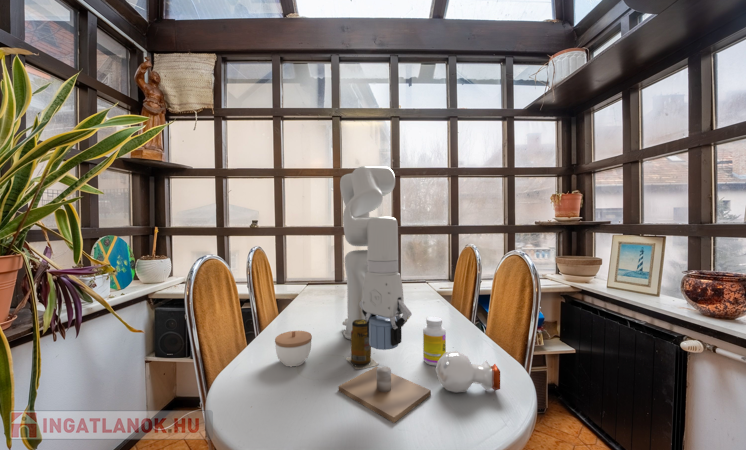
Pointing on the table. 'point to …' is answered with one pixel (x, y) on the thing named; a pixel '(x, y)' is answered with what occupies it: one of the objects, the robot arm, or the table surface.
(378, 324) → the cap
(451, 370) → the potion bottle
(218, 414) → the table surface
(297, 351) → the lidded jar
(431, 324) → the supplement bottle
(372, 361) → the condiment
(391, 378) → the post base
